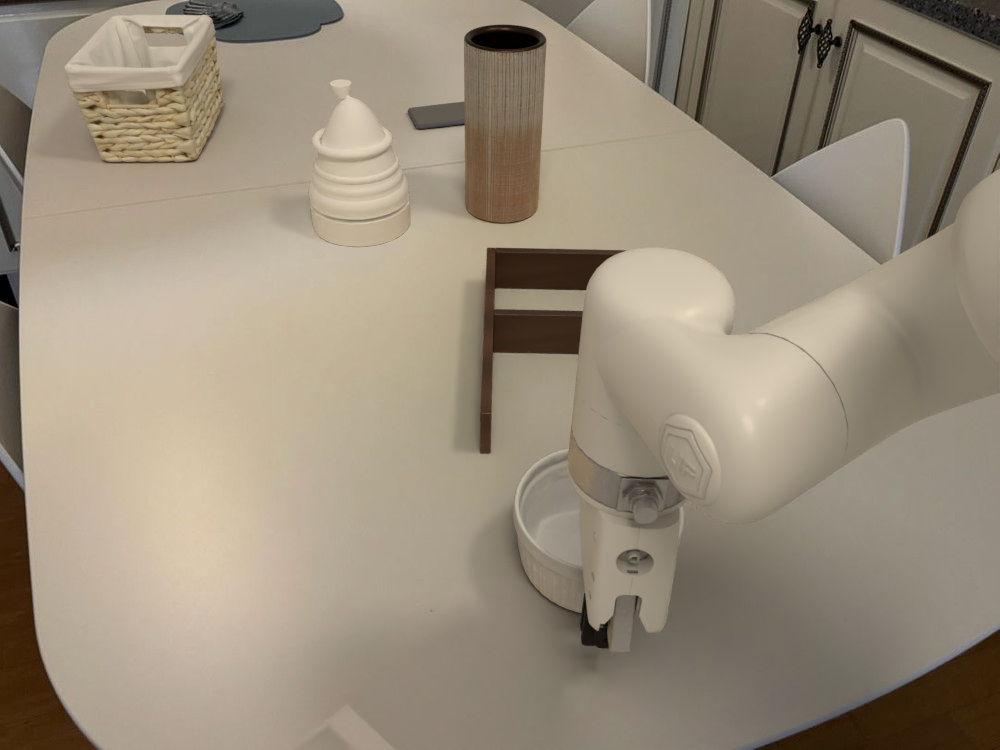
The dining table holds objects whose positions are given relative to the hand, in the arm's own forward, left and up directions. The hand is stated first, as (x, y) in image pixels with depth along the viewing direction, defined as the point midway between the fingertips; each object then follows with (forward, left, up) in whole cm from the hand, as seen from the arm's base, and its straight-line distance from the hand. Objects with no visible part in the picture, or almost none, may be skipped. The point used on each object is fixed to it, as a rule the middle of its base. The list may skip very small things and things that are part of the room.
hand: (602, 636), depth 61 cm
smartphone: (+53, -86, -3) cm, 102 cm away
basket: (+91, -60, -3) cm, 110 cm away
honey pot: (+49, -49, -3) cm, 70 cm away
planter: (+34, -61, -3) cm, 70 cm away
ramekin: (+3, -8, -3) cm, 10 cm away
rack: (+14, -33, -3) cm, 36 cm away
